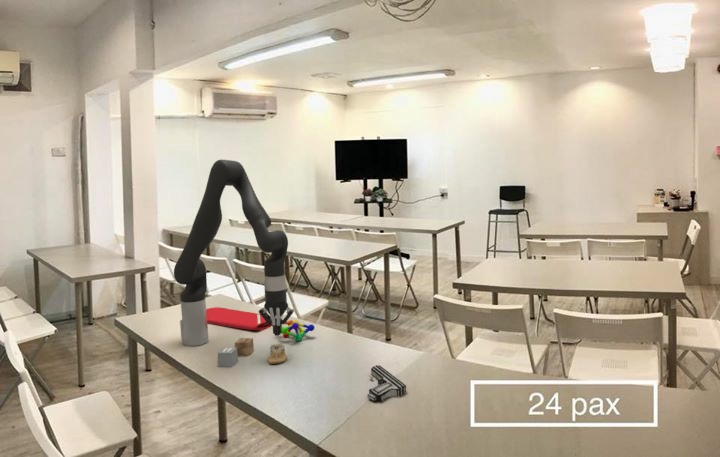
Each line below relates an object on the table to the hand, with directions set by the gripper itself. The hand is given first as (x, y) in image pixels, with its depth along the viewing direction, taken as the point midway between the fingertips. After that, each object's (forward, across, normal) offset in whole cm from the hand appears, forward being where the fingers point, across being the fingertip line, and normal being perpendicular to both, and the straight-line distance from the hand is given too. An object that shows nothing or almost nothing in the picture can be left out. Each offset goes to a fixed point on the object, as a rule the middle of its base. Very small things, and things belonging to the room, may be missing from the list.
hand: (277, 335), depth 183 cm
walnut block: (+8, -14, +2) cm, 16 cm away
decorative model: (+8, 0, +19) cm, 21 cm away
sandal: (+8, -1, 0) cm, 8 cm away
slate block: (+8, -16, -8) cm, 19 cm away
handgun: (+8, +38, -22) cm, 45 cm away
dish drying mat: (+9, -34, +39) cm, 52 cm away
